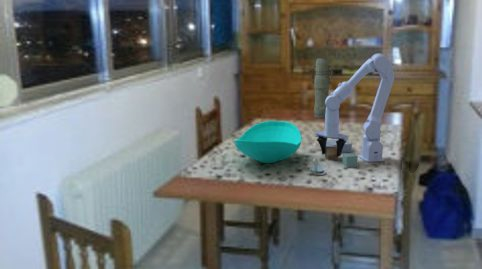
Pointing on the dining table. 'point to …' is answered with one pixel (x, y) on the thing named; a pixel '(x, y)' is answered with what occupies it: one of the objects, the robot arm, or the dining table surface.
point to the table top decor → (270, 141)
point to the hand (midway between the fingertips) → (331, 154)
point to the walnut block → (331, 152)
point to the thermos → (321, 86)
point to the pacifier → (317, 168)
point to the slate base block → (346, 148)
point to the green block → (350, 160)
